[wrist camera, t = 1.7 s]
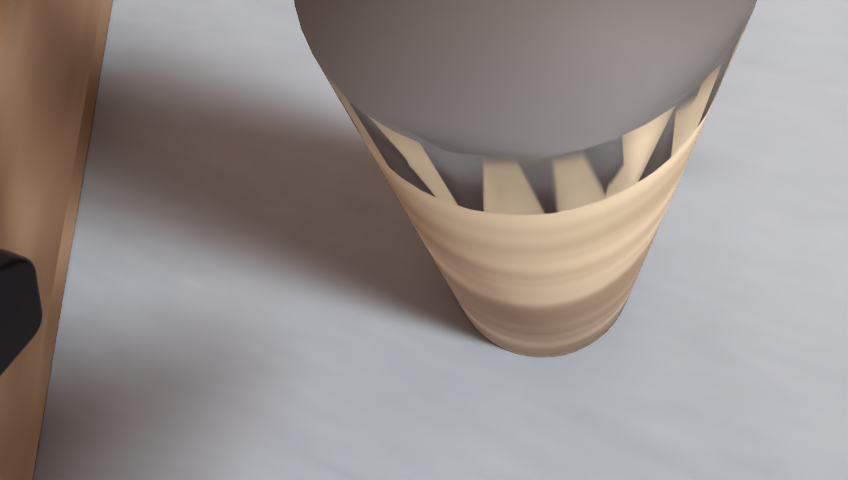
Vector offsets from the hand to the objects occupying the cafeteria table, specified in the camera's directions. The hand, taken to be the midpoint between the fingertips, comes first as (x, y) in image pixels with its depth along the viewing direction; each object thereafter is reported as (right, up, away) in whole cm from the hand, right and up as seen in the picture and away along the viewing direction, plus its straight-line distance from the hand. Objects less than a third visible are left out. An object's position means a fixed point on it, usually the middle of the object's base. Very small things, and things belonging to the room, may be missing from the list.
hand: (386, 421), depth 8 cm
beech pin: (+3, +1, +12) cm, 12 cm away
